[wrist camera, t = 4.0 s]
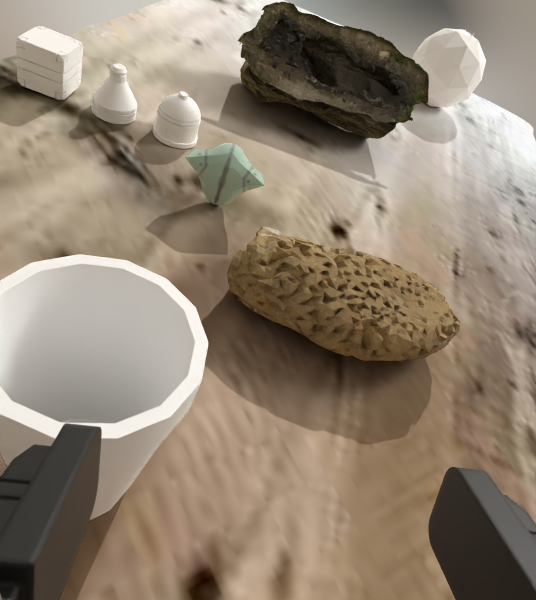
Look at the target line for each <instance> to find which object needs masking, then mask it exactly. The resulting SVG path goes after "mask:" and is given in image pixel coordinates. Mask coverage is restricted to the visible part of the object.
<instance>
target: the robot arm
mask: <svg viewBox="0 0 536 600" xmlns="http://www.w3.org/2000/svg"><path fill="white" fill-rule="evenodd" d="M101 438H102V430H101V427H96V426H87V425H78V424H69V423H65V424H64V425H63V427H62V428H61V430H60V432H59V433H58V435H57V437H56V439H55V440H54V442H53V444H52V445H51V446H45V445H35V444H34V445H32V446H31V447H30V448H28V449H27V450H25V451H24V452H23V453H21V454H20V455H18V456H17V457H15V458H14V459H13V460H12V461H11V463H10V464H9V466H8V467H7V469H6V470H5V472H4V473H3V475H2V476H1V478H0V600H59V599H60V596H61V593H62V591H63V588H64V585H65V583H66V580H67V578H68V575H69V572H70V570H71V567H72V564H73V562H74V559H75V557H76V554H77V551H78V549H79V546H80V543H81V541H82V538H83V536H84V533H85V530H86V528H87V525H88V522H89V520H90V517H91V514H92V511H93V508H94V504H95V500H96V495H97V490H98V480H99V466H100V452H101ZM429 539H430V543H431V546H432V549H433V551H434V553H435V556H436V558H437V560H438V562H439V564H440V567H441V569H442V571H443V573H444V575H445V577H446V580H447V582H448V584H449V586H450V588H451V591H452V593H453V595H454V597H455V599H456V600H536V524H535V523H534V521H533V520H532V519H531V517H530V516H529V515H528V513H527V512H526V511H524V510H523V509H522V508H521V507H520V506H518V505H517V504H516V503H515V502H514V501H513V500H511V499H510V498H509V497H508V496H507V495H503V494H502V493H501V491H500V490H499V489H498V487H497V486H496V484H495V483H494V482H493V480H492V479H491V477H490V476H489V475H488V474H487V473H486V472H485V471H483V470H474V469H465V468H456V467H451V468H449V469H448V470H447V472H446V474H445V476H444V479H443V482H442V485H441V488H440V491H439V493H438V496H437V499H436V502H435V505H434V508H433V510H432V513H431V516H430V520H429Z"/></svg>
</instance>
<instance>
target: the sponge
mask: <svg viewBox="0 0 536 600" xmlns="http://www.w3.org/2000/svg"><path fill="white" fill-rule="evenodd" d="M356 254H357V255H356ZM356 254H353V253H352V250H350V249H348V248H338V249H329V248H327V247H324V246H321V245H317V244H314V243H312V242H311V241H309V240H303V239H300V238H297V237H287V236H282V235H281V233H280V231H279V230H276V229H272V228H268V227H263V226H262V227H261V228H260V230H259V231H258V232H257V234H256V237H255V238H254V239H253V240H252V241H251V242H250V243H249V244H248V245H247V251H241V250H240V251H239V252H237V253H236V254H235V255H234V256H233V259H232V262H231V265H230V267H229V270H228V272H227V275H228V282H229V286H230V292H231V294H232V295H235V294H236V295H237V299H238V301H241V302H242V303H243V304H244V305H246V306H247V307H249V308H250V310H251V311H253V312H255V313H257V314H259V315H261V316H264V317H266V318H268V319H270V320H271V321H273V322H276V323H279V324H281V325H284V326H286V327H289V328H291V329H293V330H295V331H297V332H299V333H301V334H303V335H304V336H306V337H307V338H309V339H310V340H311V341H312V342H314V343H316V344H317V345H319V346H321V347H323V348H325V349H328V350H330V351H333V352H336V353H339V354H342V355H344V356H346V357H347V356H350V355H351V356H354V357H356V358H358V359H360V360H366V361H370V360H373V361H380V360H383V361H394V360H396V361H403V360H406V359H411V360H414V359H419V358H425V357H427V356H429V355H430V354H432V353H436V352H437V351H438V350H441V349H442V348H444V347H445V346H446V345H447V344H448V343H449V341H450V340H451V339H452V338H453V337H454V336H455V335H456V334H457V332H458V331H459V326H460V321H459V320H458V318H457V317H456V316H455V315H454V313H453V312H452V310H451V309H450V307H449V305H447V302H445V297H444V296H443V294H442V293H441V292H440V291H439V289H438V290H436V289H435V287H434V285H432V284H429V283H427V282H425V281H424V280H423V279H422V278H421V277H419V276H418V275H417V274H416V273H413V272H411V271H408V270H406V269H404V268H402V267H400V266H397V265H395V264H393V263H391V262H389V261H387V260H384V259H382V258H379V257H373V256H371V255H368V254H365V253H362V252H357V251H356Z"/></svg>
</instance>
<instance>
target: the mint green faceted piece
mask: <svg viewBox="0 0 536 600" xmlns="http://www.w3.org/2000/svg"><path fill="white" fill-rule="evenodd" d="M186 159H187V160H188V161H189V163H190V164H191V166H192V167H193V168H194V170H195V171H196V172H197V174H198V177H199V179H200V181H201V184H202V190H203V192H204V194H205V196H206V199H207V200H208V201H210V202H211V203H213V204H214V205H221V206H224V205H226V204H228V203H230V202H232V201H233V200H234V199H235V198H236V197H237V196H238V195H240V194H242V193H244V192H245V191H247V190H251V189H254V188H257V187H260V186H264V182H263V176H262V173H261V172H259V171H257V170H255V169H254V168H253V166H252V165H251V164H250V162H249V161H248V160H247V158H246V156H245V154H244V152H243V150H242V148H240V147H238V146H237V145H235V144H231V143H224V144H221V145H219V146H217V147H215V148H211V149H207V150H198V149H194V150H193V151H192V152H191V153H190V154H189V155H188V156H187V157H186Z"/></svg>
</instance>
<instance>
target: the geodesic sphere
mask: <svg viewBox="0 0 536 600" xmlns="http://www.w3.org/2000/svg"><path fill="white" fill-rule="evenodd" d="M469 33H470V32H469ZM469 33H468V32H467V29H466V30H465V29H464V30H457V29H447V28H444V29H442V30H440V31H438V32H437V33H435V34H433V35H431V36H430V37H428V38H426V39H425V40H424V41H423V42H422V44H421V45H420V47H419V48H418V49H417V51H416V52H415V54H414V55H413V60H415V63H417V64H419V65H420V66H421V67H422V68H423V69H424V70H425V71H426V72H427V73H428V76H429V90H428V103H426V102H425V103H426V104H427V105H428V106H435V107H450V106H453V105H455V104H457V103H459V102H462V101H464V100H466V99H468V97H469V96H470V95H471V93H472V92H473V91H474V89H475V88H476V87H477V85H478V84H479V83H480V81H481V79H482V75H483V71H484V67H485V63H486V59H485V57H484V54H483V51H482V49H481V46H480V44H479V41H478V40H477V39H476V38H474V37H473V36H472V35H471V34H469Z"/></svg>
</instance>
